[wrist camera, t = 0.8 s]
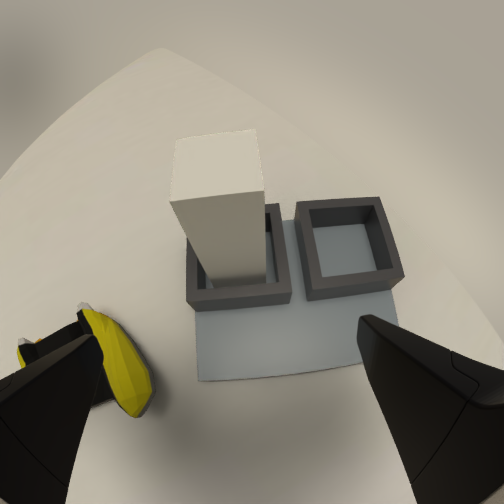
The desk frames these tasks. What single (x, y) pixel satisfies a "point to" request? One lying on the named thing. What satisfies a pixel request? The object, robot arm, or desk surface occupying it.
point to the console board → (299, 293)
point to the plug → (222, 205)
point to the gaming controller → (114, 365)
